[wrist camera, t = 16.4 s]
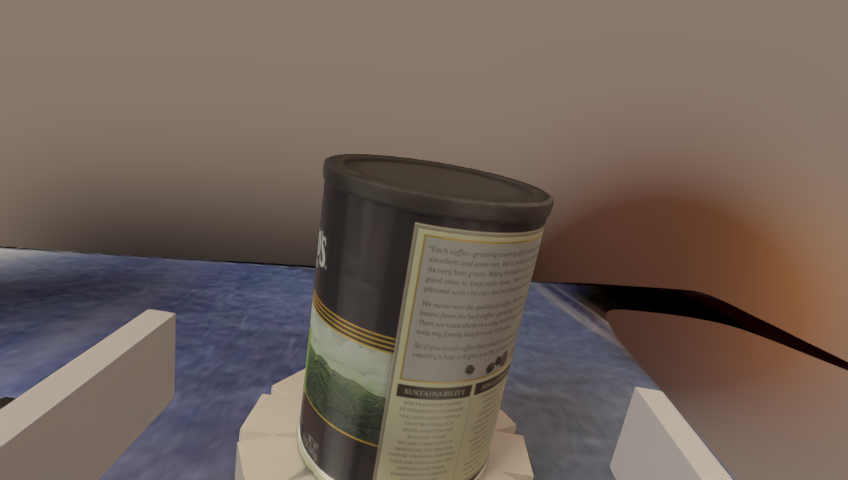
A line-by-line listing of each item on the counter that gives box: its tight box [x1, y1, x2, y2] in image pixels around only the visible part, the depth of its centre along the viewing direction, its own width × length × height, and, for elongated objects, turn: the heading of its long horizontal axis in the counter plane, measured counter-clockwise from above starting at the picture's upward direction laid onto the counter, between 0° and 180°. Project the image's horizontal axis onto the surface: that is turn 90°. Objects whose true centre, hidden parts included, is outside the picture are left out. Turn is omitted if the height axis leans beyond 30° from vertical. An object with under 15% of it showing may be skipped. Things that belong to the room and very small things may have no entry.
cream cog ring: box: [235, 369, 534, 480], centre depth 26 cm, size 15×15×5 cm
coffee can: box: [297, 154, 554, 480], centre depth 23 cm, size 10×10×14 cm
